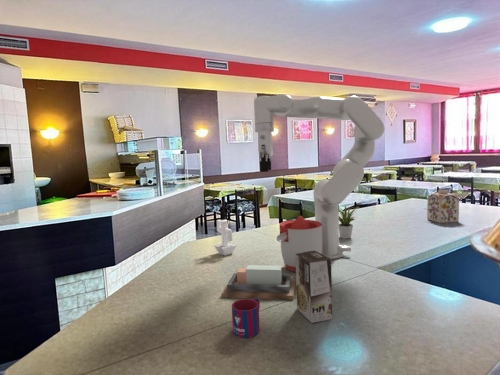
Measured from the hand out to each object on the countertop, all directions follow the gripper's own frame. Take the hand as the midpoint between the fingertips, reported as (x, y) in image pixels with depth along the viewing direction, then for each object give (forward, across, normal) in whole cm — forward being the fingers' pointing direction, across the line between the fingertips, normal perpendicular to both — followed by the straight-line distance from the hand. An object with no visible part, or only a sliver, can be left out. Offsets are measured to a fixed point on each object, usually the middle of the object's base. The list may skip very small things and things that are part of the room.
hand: (265, 170), depth 136 cm
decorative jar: (+37, +72, -92) cm, 122 cm away
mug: (+37, -56, -2) cm, 67 cm away
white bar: (+35, -32, -1) cm, 47 cm away
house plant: (+36, +35, -35) cm, 62 cm away
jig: (+36, -32, -1) cm, 48 cm away
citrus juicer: (+36, -12, -13) cm, 41 cm away
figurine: (+36, +5, +20) cm, 42 cm away
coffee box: (+36, -47, -18) cm, 62 cm away
